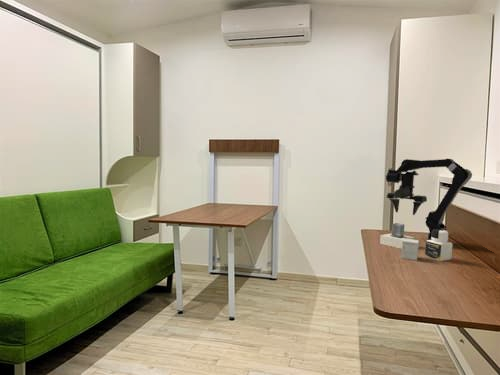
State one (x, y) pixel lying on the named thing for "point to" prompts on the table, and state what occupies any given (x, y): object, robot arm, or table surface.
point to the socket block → (393, 240)
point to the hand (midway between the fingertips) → (405, 213)
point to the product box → (410, 249)
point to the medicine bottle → (438, 246)
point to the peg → (397, 230)
